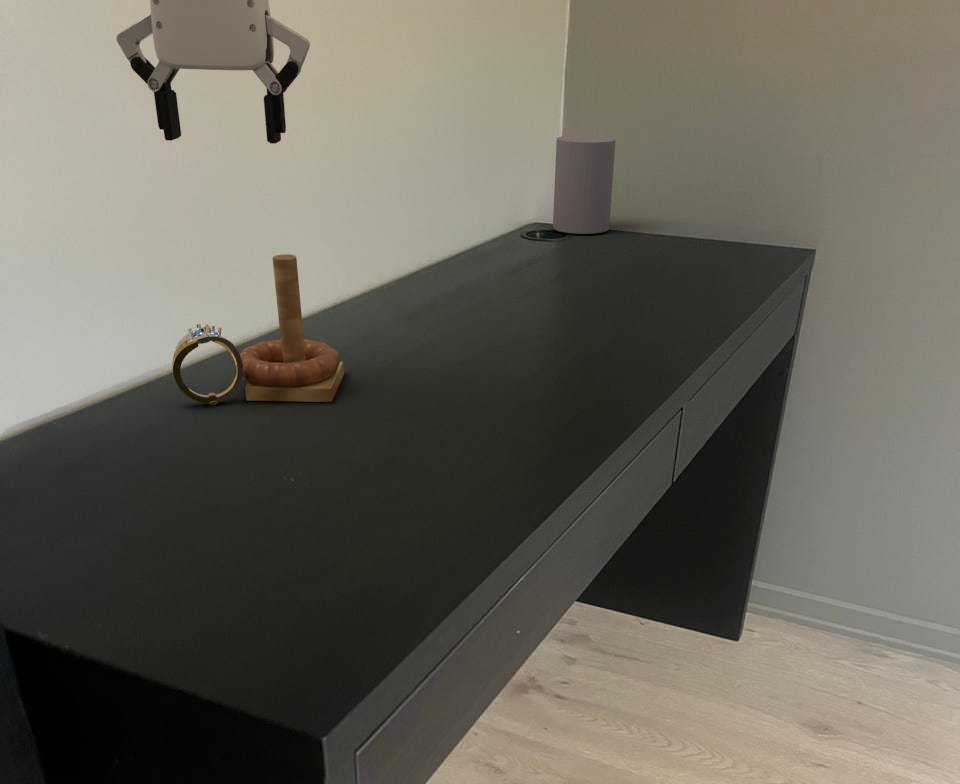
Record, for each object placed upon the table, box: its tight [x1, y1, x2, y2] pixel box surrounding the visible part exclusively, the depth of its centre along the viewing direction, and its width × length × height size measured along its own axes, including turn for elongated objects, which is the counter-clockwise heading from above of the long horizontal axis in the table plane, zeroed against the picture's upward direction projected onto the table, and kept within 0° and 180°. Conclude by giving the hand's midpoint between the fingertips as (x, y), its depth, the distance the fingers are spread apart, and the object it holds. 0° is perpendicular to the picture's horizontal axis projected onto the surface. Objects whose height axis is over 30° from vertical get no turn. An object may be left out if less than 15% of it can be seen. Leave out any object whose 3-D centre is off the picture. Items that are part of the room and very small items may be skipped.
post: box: [244, 253, 345, 403], centre depth 103 cm, size 9×9×14 cm
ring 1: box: [171, 323, 244, 406], centre depth 100 cm, size 7×3×8 cm, turn 107°
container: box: [552, 134, 617, 236], centre depth 177 cm, size 10×10×15 cm
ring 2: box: [234, 338, 341, 387], centre depth 106 cm, size 11×11×2 cm
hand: (223, 140), depth 94 cm, fingers open, 9 cm apart
